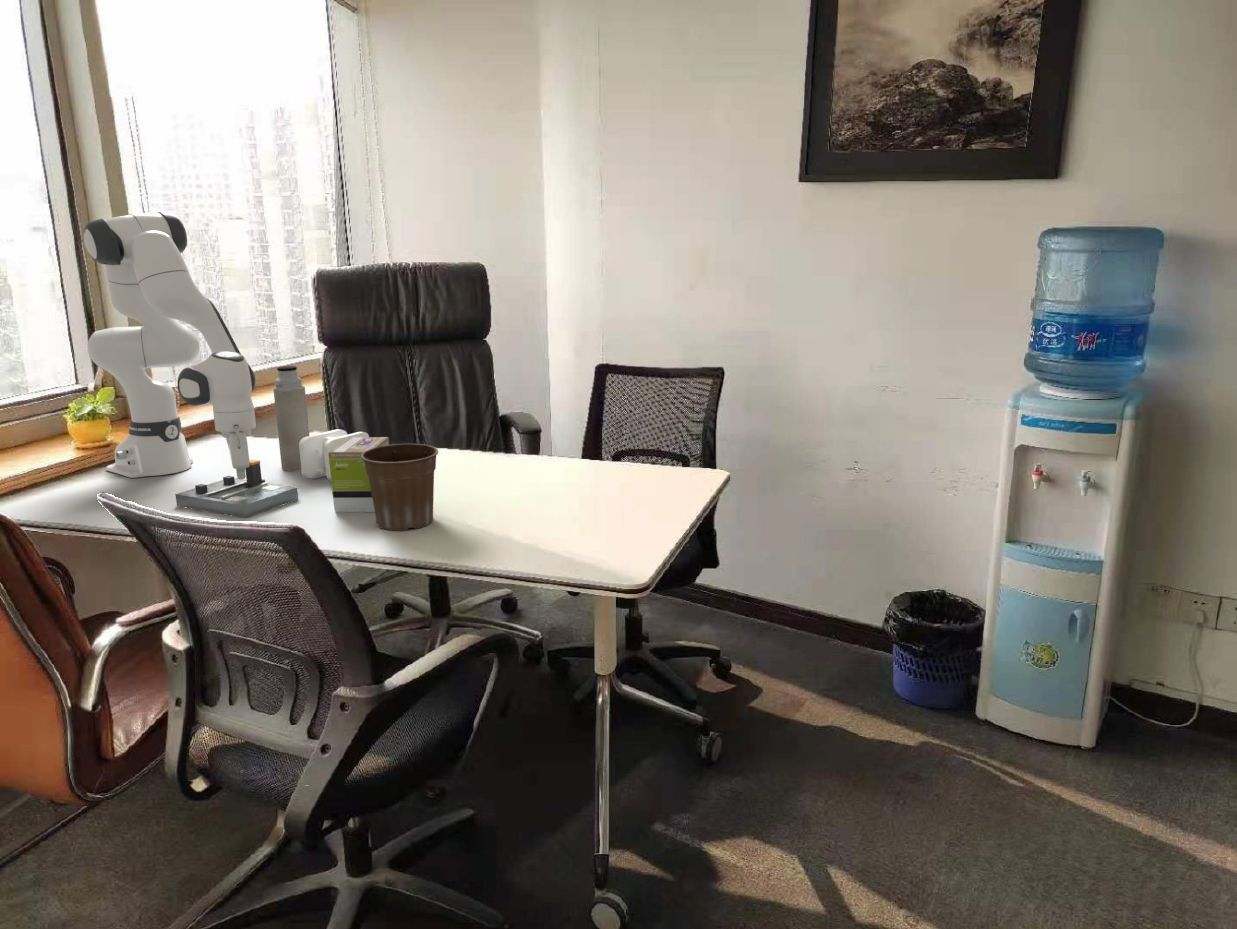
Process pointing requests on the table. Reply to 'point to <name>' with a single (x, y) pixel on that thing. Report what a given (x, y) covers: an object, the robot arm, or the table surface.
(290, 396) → the thermos bottle
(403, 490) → the plant pot
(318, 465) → the cable organizer
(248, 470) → the breaker lever
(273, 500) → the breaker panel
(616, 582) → the table surface
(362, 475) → the tea box
